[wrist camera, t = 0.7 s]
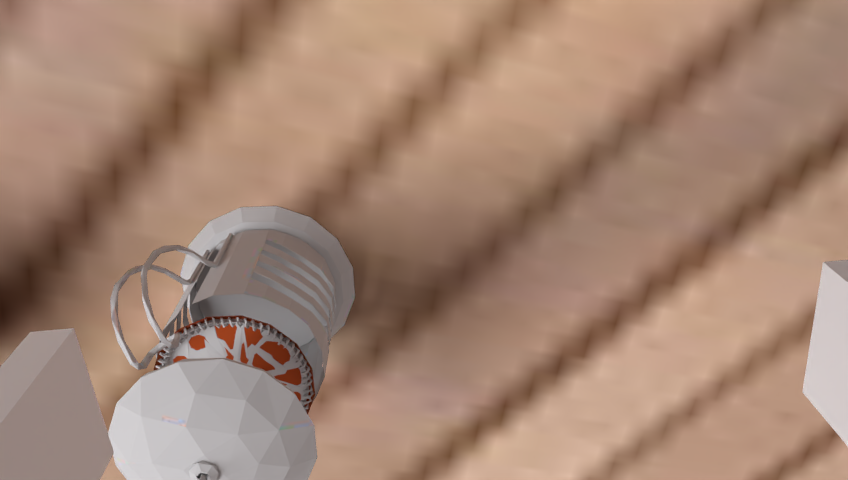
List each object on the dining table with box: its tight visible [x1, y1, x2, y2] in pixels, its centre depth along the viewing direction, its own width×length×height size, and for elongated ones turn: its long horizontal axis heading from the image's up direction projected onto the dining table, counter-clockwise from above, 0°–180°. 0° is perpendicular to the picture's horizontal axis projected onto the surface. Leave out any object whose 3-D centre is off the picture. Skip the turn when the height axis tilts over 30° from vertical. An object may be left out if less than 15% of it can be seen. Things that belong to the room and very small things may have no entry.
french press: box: [108, 206, 355, 480], centre depth 30 cm, size 10×12×25 cm
